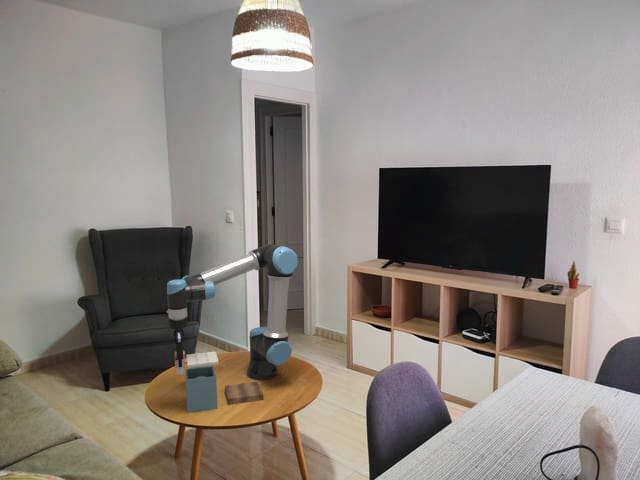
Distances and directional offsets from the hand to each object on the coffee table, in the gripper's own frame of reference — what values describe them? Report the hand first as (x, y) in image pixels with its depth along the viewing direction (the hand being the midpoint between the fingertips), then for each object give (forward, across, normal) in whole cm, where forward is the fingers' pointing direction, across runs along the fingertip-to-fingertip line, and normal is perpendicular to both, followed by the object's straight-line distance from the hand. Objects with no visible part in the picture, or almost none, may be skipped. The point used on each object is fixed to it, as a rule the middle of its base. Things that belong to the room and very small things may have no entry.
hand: (180, 371), depth 206 cm
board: (+16, -3, +26) cm, 31 cm away
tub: (+15, 0, +8) cm, 17 cm away
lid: (-2, 0, +7) cm, 7 cm away
